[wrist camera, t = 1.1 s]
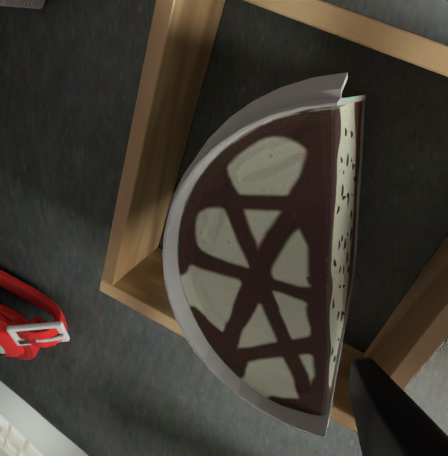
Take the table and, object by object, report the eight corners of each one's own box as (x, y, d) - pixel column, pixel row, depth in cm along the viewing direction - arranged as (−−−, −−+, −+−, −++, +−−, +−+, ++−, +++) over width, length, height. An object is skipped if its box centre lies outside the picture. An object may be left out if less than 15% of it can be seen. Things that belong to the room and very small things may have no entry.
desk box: (573, 92, 16) (634, 112, 12) (370, 368, 24) (364, 437, 20) (218, -35, 19) (165, -56, 15) (145, 251, 27) (98, 290, 23)
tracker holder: (14, 378, 37) (-88, 311, 34) (45, 337, 40) (-46, 272, 37) (61, 361, 29) (-69, 271, 26) (97, 310, 32) (-16, 224, 29)
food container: (236, 66, 20) (118, 88, 12) (368, 58, 18) (338, 78, 10) (248, 283, 25) (170, 408, 17) (353, 298, 23) (324, 450, 15)
